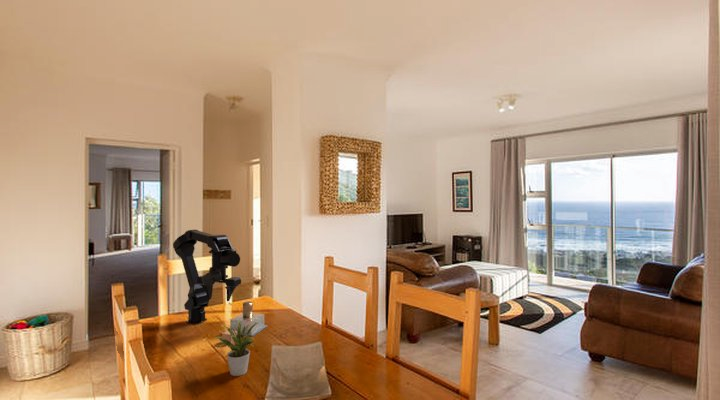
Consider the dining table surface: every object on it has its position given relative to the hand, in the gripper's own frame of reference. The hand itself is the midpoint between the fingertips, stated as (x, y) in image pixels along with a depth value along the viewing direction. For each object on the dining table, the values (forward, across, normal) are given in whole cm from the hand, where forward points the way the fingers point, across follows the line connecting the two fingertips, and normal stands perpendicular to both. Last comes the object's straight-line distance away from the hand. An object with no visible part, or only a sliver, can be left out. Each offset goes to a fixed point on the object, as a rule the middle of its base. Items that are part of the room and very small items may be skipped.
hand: (218, 300), depth 162 cm
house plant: (+12, +32, -31) cm, 46 cm away
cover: (+12, +13, +2) cm, 17 cm away
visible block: (+12, +14, -12) cm, 22 cm away
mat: (+12, +13, +2) cm, 18 cm away
